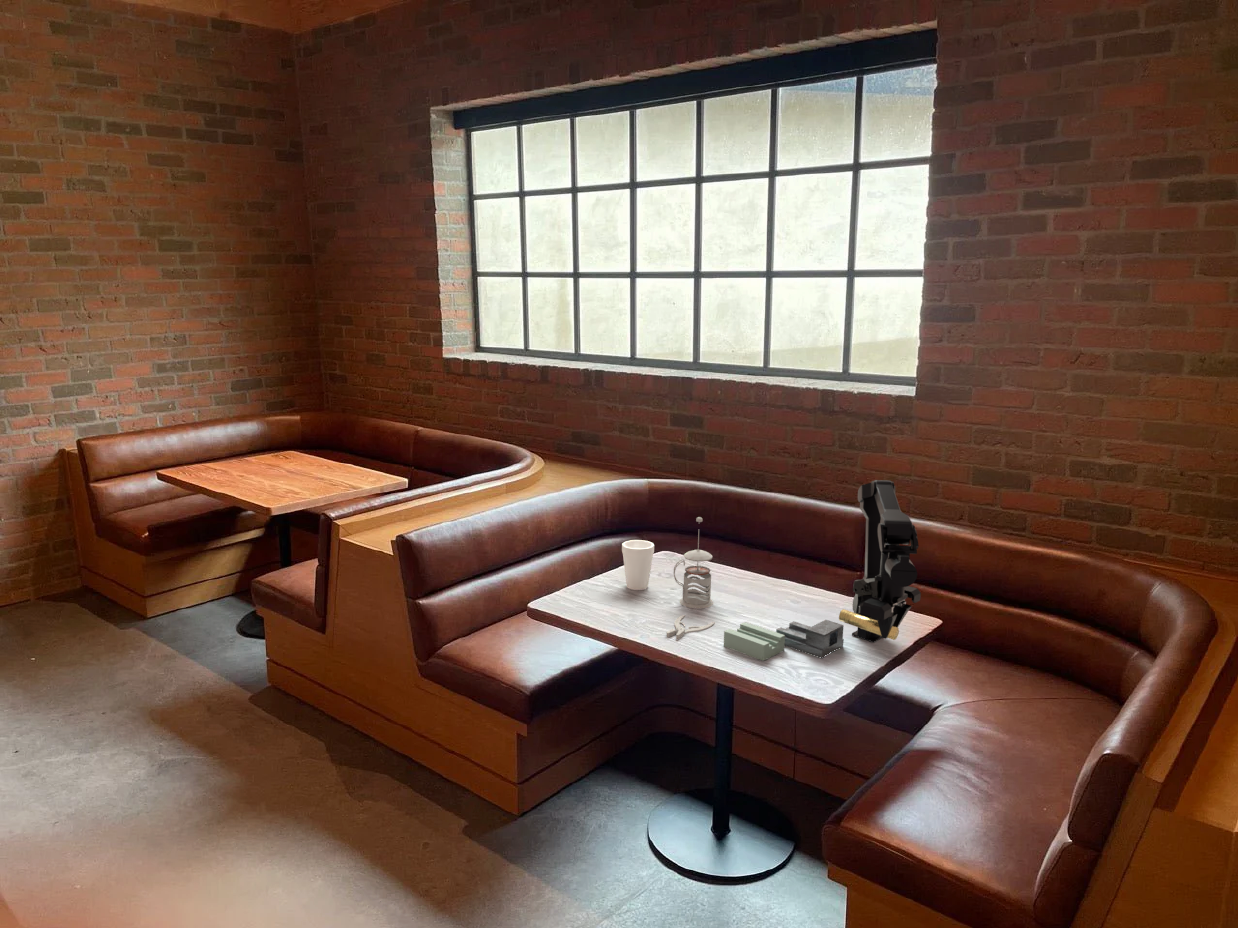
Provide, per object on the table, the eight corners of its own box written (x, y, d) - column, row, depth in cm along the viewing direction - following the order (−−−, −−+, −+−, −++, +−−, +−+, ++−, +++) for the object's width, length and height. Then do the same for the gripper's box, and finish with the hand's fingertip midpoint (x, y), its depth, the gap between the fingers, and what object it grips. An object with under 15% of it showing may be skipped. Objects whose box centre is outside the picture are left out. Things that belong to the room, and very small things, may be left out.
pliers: (715, 619, 232) (689, 637, 219) (715, 624, 232) (689, 643, 220) (682, 611, 237) (655, 629, 224) (682, 617, 237) (655, 635, 225)
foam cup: (658, 585, 261) (659, 543, 259) (643, 593, 254) (643, 551, 251) (631, 579, 266) (632, 538, 264) (615, 587, 258) (616, 545, 256)
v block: (744, 636, 224) (745, 621, 223) (784, 650, 216) (785, 635, 215) (723, 646, 218) (724, 631, 217) (763, 660, 209) (764, 645, 209)
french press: (715, 608, 243) (718, 522, 238) (673, 608, 243) (676, 521, 238) (712, 596, 252) (715, 512, 247) (672, 595, 252) (674, 512, 247)
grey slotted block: (795, 630, 228) (796, 609, 227) (843, 646, 218) (844, 624, 217) (773, 641, 221) (774, 619, 220) (821, 658, 211) (823, 635, 210)
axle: (844, 619, 213) (846, 607, 212) (898, 638, 203) (899, 626, 202) (838, 622, 210) (839, 610, 210) (891, 641, 201) (893, 629, 200)
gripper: (880, 555, 212) (875, 616, 215) (840, 572, 199) (836, 637, 202) (924, 566, 205) (918, 629, 208) (885, 584, 191) (880, 651, 195)
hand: (887, 636), depth 203 cm, fingers closed on axle, 3 cm apart
